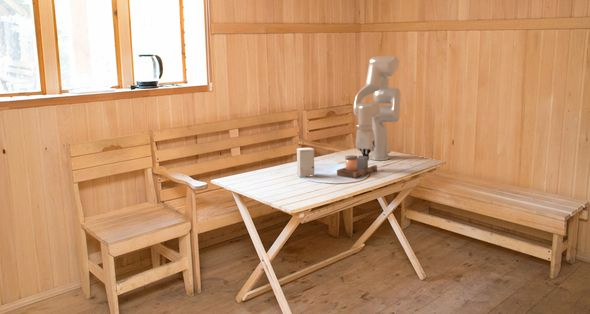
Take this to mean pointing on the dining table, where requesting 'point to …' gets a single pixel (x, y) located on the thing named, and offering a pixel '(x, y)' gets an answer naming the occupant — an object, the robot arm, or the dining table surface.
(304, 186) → the dining table surface
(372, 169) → the brown wooden tray
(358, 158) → the pusher
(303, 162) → the skincare box
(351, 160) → the jar
